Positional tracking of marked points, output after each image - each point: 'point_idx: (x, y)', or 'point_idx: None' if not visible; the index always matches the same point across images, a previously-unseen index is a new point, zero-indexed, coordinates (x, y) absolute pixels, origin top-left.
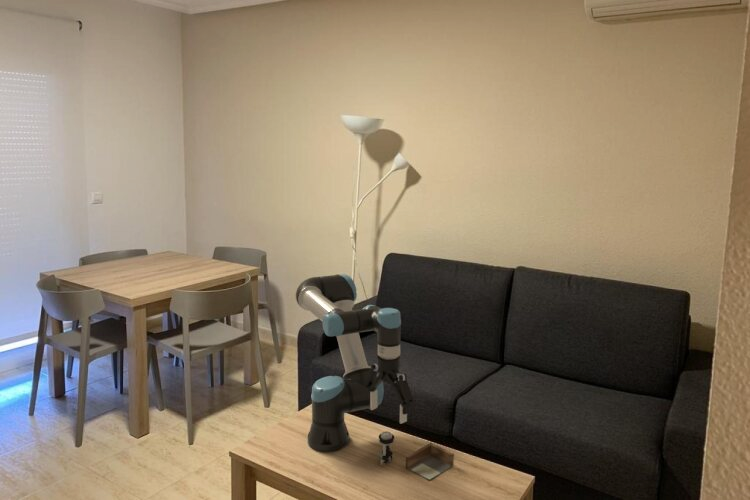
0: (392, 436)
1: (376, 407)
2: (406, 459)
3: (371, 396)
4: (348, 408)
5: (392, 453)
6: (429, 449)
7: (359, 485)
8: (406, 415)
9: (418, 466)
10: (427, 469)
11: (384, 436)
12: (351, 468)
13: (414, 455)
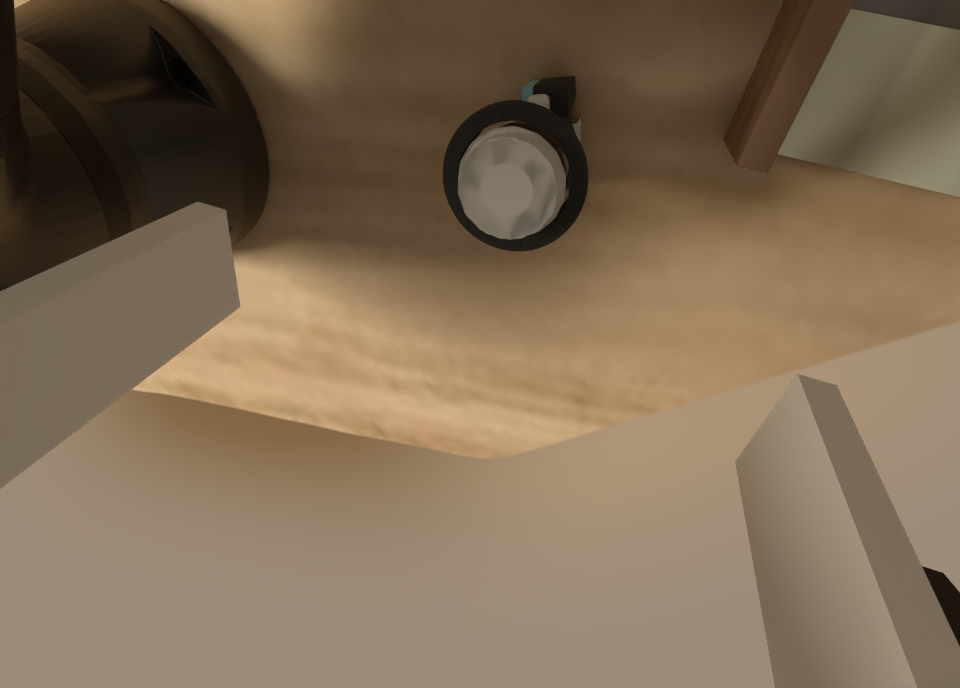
0: (558, 144)
1: (222, 233)
2: (735, 159)
3: (57, 434)
4: (2, 164)
5: (569, 80)
6: None
7: (548, 392)
8: (864, 468)
9: (824, 76)
10: (921, 75)
11: (513, 237)
12: (434, 298)
13: (803, 96)
